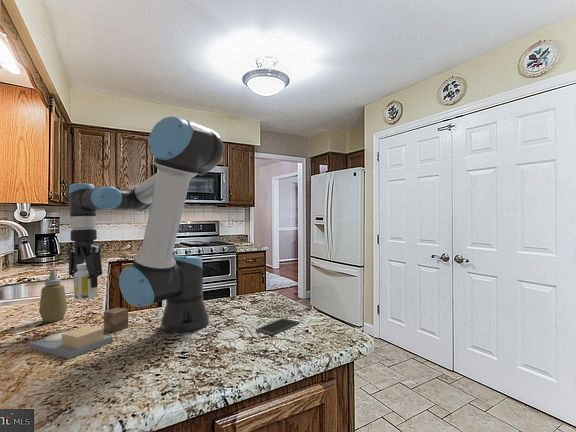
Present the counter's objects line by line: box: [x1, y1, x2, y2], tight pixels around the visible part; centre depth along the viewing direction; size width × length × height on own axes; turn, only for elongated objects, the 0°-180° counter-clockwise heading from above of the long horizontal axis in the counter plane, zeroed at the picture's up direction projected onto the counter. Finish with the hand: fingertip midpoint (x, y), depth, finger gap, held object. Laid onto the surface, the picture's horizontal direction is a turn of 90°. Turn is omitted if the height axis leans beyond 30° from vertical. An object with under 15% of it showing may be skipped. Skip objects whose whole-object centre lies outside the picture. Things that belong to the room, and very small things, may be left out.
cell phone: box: [255, 318, 300, 337], centre depth 100 cm, size 7×14×1 cm, turn 141°
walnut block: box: [103, 307, 129, 333], centre depth 102 cm, size 5×5×6 cm
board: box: [28, 325, 114, 360], centre depth 89 cm, size 18×12×4 cm, turn 66°
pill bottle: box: [73, 263, 95, 301], centre depth 107 cm, size 6×6×12 cm
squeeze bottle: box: [38, 269, 68, 323], centre depth 112 cm, size 8×8×18 cm
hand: (86, 296), depth 106 cm, fingers closed on pill bottle, 6 cm apart
